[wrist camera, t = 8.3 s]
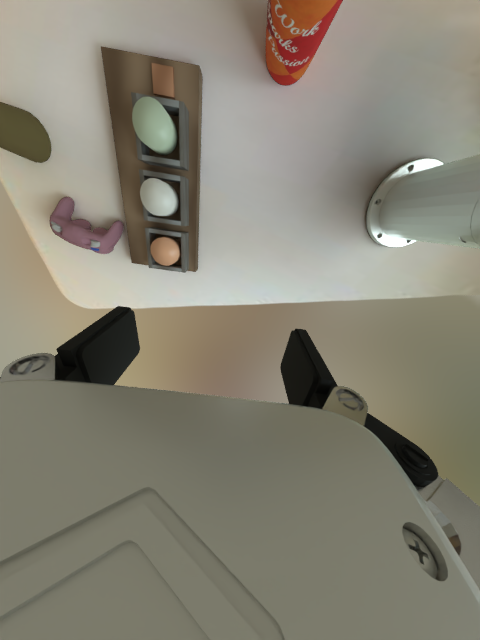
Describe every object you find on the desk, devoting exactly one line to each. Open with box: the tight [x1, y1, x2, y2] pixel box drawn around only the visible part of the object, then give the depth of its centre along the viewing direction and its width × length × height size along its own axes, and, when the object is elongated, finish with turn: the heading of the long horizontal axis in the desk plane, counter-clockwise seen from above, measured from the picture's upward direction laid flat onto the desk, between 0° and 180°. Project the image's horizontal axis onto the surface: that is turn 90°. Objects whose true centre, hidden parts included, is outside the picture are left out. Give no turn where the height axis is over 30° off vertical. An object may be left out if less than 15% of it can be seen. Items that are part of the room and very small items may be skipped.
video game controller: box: [50, 197, 124, 254], centre depth 32 cm, size 10×5×7 cm, turn 65°
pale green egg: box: [132, 97, 178, 155], centre depth 23 cm, size 4×4×3 cm
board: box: [101, 47, 202, 272], centre depth 29 cm, size 12×26×4 cm, turn 172°
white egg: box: [140, 178, 179, 216], centre depth 27 cm, size 4×4×3 cm
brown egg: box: [150, 236, 181, 266], centre depth 32 cm, size 4×4×3 cm
